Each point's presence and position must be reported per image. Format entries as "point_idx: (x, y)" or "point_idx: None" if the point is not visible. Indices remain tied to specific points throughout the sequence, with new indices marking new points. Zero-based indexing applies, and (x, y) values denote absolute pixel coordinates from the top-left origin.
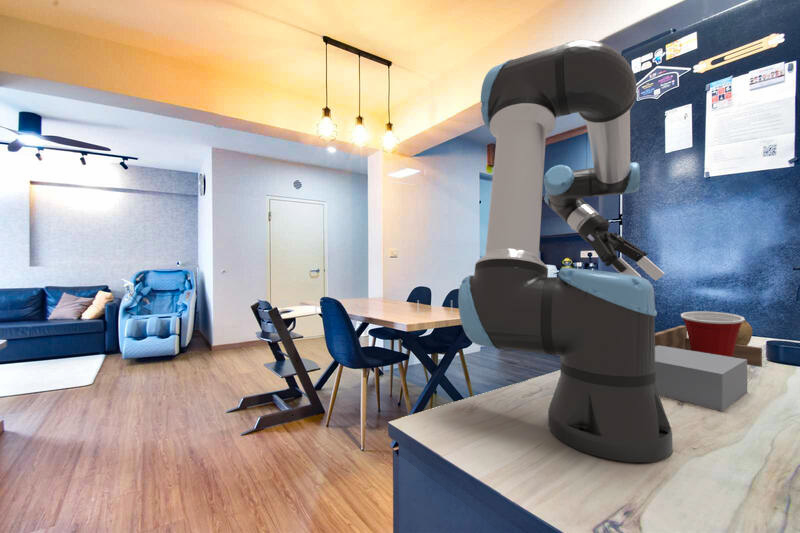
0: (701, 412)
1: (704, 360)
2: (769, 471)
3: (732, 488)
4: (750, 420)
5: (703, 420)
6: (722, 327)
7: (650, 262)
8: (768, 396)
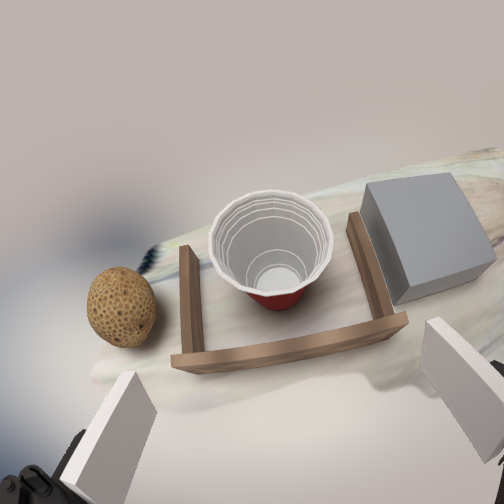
0: None
1: (425, 202)
2: (476, 157)
3: (501, 162)
4: None
5: (466, 197)
6: (305, 213)
7: (98, 440)
8: (351, 198)
